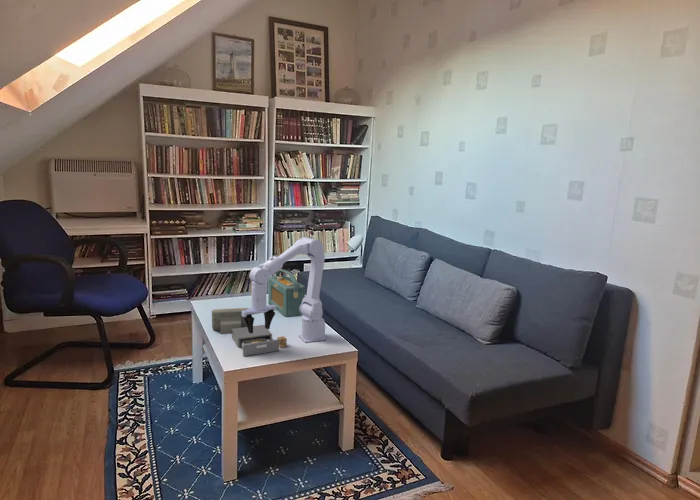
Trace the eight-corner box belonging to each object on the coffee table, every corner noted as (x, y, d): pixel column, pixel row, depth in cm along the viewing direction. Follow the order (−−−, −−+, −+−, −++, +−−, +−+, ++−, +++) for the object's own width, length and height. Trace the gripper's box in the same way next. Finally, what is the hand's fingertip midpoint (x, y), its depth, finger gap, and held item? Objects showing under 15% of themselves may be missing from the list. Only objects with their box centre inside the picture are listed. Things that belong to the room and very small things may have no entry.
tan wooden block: (284, 344, 196) (284, 336, 196) (286, 346, 194) (286, 338, 193) (277, 345, 195) (277, 337, 194) (279, 347, 192) (279, 339, 192)
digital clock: (250, 327, 215) (250, 304, 213) (247, 334, 206) (247, 311, 204) (214, 326, 214) (213, 304, 212) (209, 334, 205) (209, 310, 203)
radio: (267, 303, 251) (267, 267, 248) (286, 301, 257) (286, 265, 253) (285, 318, 229) (285, 278, 226) (305, 315, 235) (306, 276, 231)
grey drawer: (270, 340, 200) (270, 330, 199) (279, 350, 189) (279, 340, 188) (236, 344, 193) (236, 334, 192) (243, 356, 182) (243, 345, 182)
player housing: (263, 333, 208) (263, 324, 207) (271, 343, 197) (271, 334, 196) (231, 337, 201) (231, 328, 201) (238, 347, 191) (238, 338, 190)
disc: (262, 342, 194) (262, 338, 194) (266, 347, 190) (266, 343, 189) (249, 344, 192) (249, 340, 192) (252, 348, 187) (252, 345, 187)
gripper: (248, 303, 177) (248, 337, 180) (280, 297, 187) (279, 329, 189) (238, 299, 182) (238, 332, 185) (270, 293, 192) (270, 324, 194)
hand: (259, 330), depth 187 cm, fingers open, 7 cm apart
